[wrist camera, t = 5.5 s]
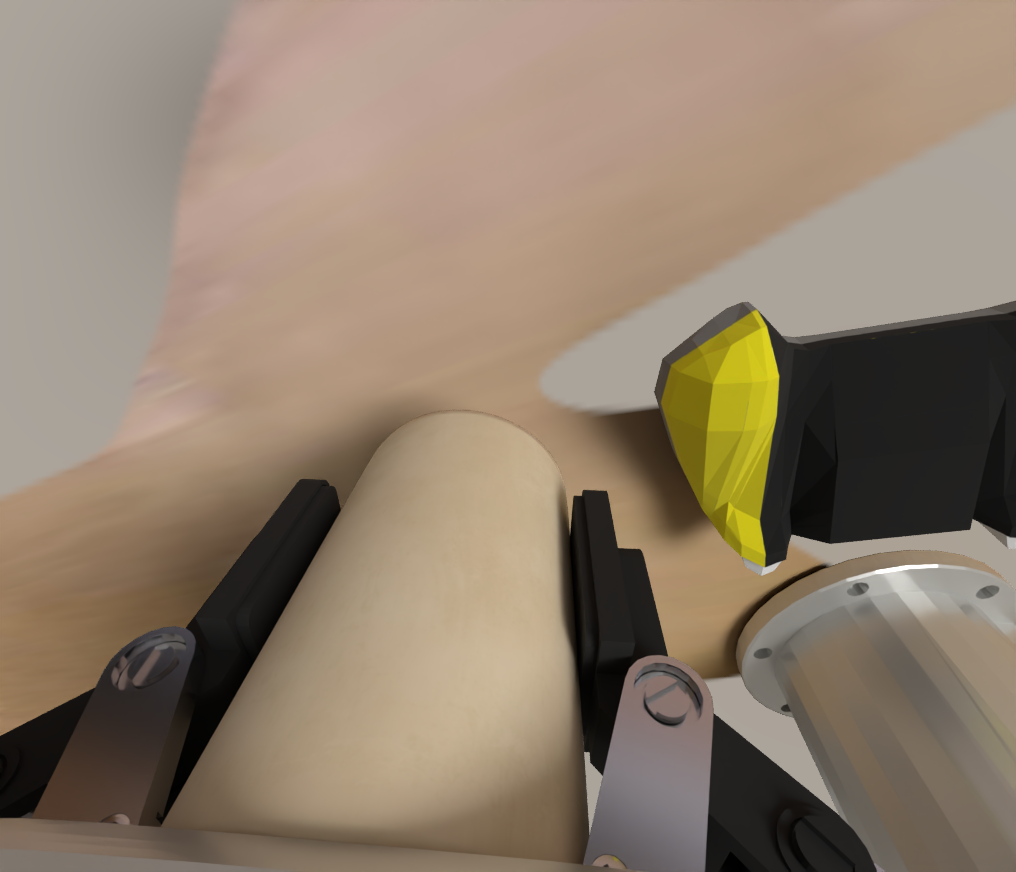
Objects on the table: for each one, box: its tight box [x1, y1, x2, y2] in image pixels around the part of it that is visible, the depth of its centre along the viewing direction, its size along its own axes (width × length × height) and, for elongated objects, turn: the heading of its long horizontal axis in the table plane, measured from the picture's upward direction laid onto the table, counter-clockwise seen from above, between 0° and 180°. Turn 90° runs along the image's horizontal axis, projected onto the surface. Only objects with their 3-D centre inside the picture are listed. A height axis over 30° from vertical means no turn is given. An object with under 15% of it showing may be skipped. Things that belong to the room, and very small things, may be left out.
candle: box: [161, 410, 589, 865], centre depth 9 cm, size 6×6×10 cm
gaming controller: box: [654, 301, 1016, 576], centre depth 15 cm, size 15×6×10 cm
